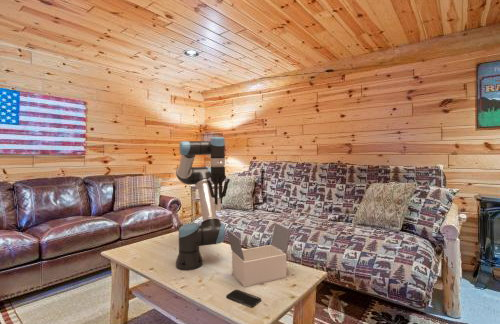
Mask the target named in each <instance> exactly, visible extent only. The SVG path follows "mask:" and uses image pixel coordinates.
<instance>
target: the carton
mask: <svg viewBox="0 0 500 324" xmlns="http://www.w3.org/2000/svg"><path fill="white" fill-rule="evenodd" d="M242 252H243V256H244V260H245V261H243V260H242V259H241V258H240V257H238V256H237V255H236V254H235V253H234V252H233V251H232V250H231V270H232V271H231V274H232V275H233V276H234V277H235V279H236V280H237V281H238V282H239V284H241V285H242V286H243V288H247V287H252V286H256V285H259V284H264V283H267V282H274V281H276V280H278V281H279V280H281V279H286V278H287V253H286V252H284V251H282V250H281V249H279V248H278V247H276V246H274V245H273V244H269V245H268V244H267V245H263V246H262V245H261V246H257V247H251V248H246V249H242ZM285 277H286V278H285Z"/></svg>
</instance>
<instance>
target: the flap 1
mask: <svg viewBox="0 0 500 324" xmlns="http://www.w3.org/2000/svg"><path fill="white" fill-rule="evenodd" d="M226 232H227V237H228V241H229V245H230V251H231V252H232V251H233V252H234V253H235V254H236V255H237V256H238V257H240V258H241V259H242V260H243V261H245V260H244V256H243V252H242V250H243V248H242V245H241V240H240V238H239V237H238V236H237V235H235V234H234V233H233V232H232V231H230V230H229V229H226Z"/></svg>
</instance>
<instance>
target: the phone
mask: <svg viewBox="0 0 500 324" xmlns="http://www.w3.org/2000/svg"><path fill="white" fill-rule="evenodd" d="M225 296H226V299H227V300H230V301H232V302H233V301H234V303H237V304H241V305H243V306H245V307H248V308H251V309H253V308H254V307H256V306H258V305H259V304H260V303H261V302H262V298H261V297H260V296H259V297H258V296H256V295H253V294H251V293H248V292H245V291H243V290H240V289H234V290H232V291H231V292H229V293H228V294H226V295H225Z"/></svg>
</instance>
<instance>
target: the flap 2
mask: <svg viewBox="0 0 500 324" xmlns="http://www.w3.org/2000/svg"><path fill="white" fill-rule="evenodd" d="M291 234H292V230H291V229H290V228H287V227H285V226H283V225H281V224H279V223H277V222H275V223H274V227H273V233H272V238H271V241H270V245H273V246H274V247H276V248H277V249H279V250H280V251H282V252H284V253H285V254H287V253H288V249H289V243H290V238H291Z"/></svg>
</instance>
